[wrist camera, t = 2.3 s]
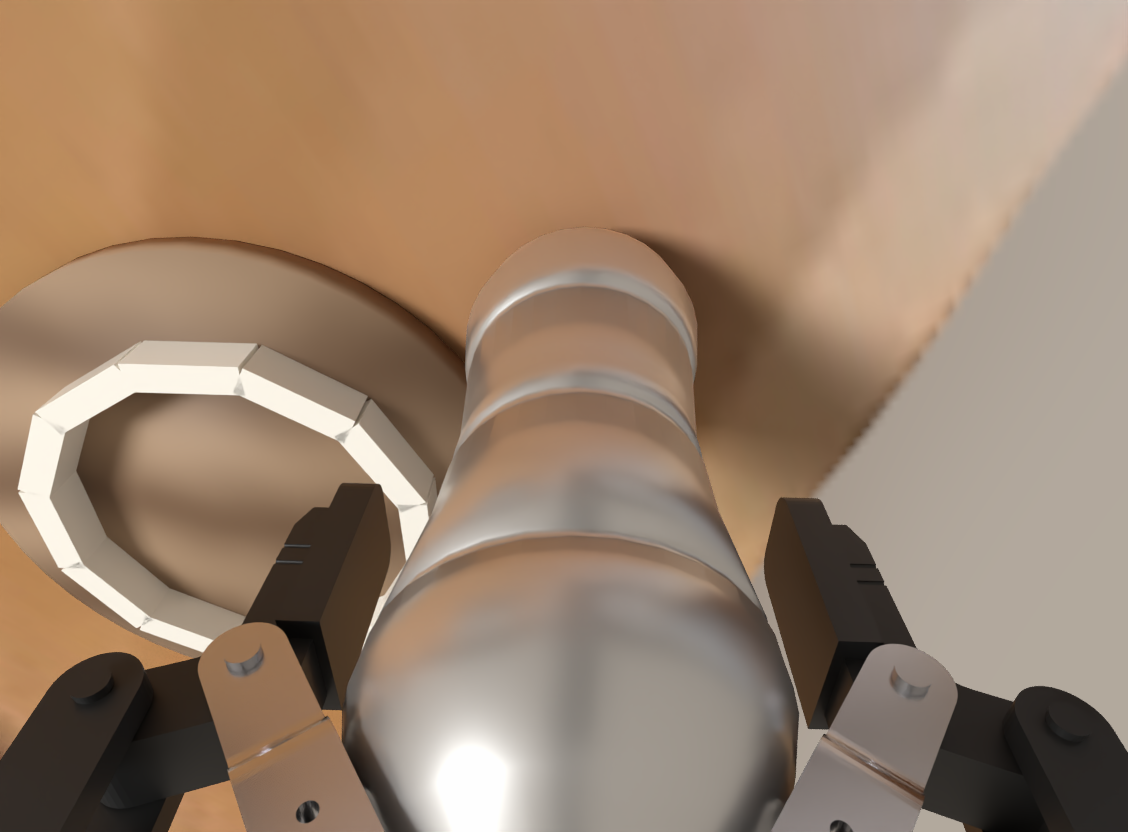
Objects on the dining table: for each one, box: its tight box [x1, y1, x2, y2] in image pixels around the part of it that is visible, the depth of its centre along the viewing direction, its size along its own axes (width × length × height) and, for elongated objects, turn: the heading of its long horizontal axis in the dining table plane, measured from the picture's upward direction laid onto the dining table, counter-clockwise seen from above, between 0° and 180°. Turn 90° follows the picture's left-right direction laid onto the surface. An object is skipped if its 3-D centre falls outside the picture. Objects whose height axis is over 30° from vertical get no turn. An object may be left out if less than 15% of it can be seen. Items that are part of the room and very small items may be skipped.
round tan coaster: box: [0, 237, 467, 658], centre depth 26 cm, size 20×20×1 cm
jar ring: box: [18, 340, 437, 652], centre depth 25 cm, size 14×14×2 cm
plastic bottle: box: [342, 227, 799, 832], centre depth 14 cm, size 6×7×20 cm
